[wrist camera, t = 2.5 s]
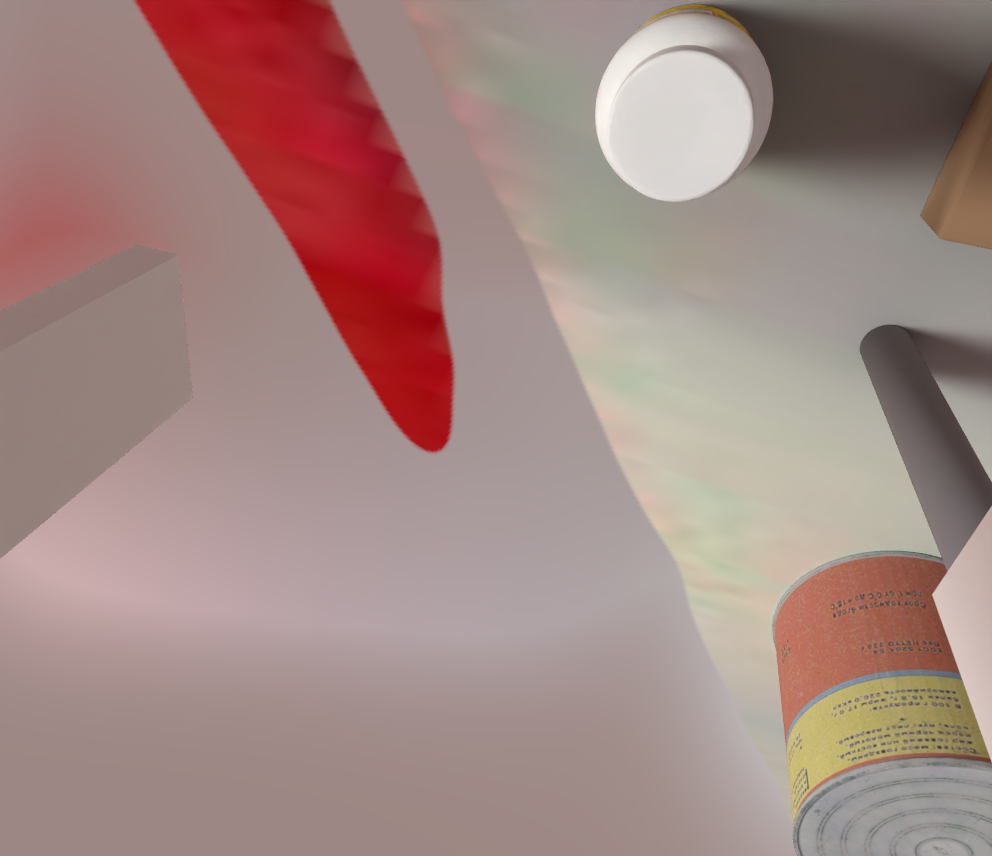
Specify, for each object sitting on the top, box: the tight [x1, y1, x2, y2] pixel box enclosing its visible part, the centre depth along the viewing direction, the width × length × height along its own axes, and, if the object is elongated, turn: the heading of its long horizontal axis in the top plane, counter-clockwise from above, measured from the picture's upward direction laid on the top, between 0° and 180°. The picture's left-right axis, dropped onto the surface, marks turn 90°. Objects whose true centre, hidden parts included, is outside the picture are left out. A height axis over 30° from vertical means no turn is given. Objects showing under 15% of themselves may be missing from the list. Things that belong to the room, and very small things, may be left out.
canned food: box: [773, 551, 992, 856], centre depth 34 cm, size 11×11×12 cm
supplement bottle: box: [595, 4, 773, 202], centre depth 24 cm, size 5×5×10 cm
